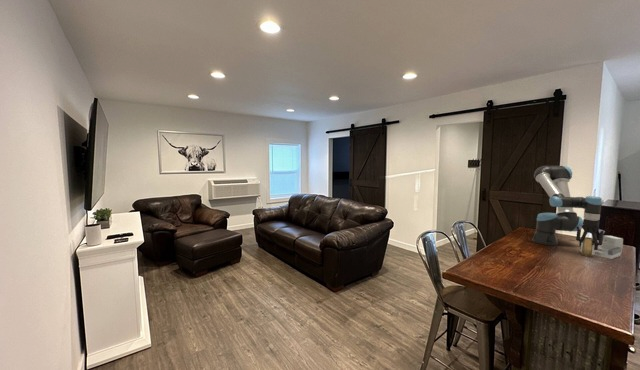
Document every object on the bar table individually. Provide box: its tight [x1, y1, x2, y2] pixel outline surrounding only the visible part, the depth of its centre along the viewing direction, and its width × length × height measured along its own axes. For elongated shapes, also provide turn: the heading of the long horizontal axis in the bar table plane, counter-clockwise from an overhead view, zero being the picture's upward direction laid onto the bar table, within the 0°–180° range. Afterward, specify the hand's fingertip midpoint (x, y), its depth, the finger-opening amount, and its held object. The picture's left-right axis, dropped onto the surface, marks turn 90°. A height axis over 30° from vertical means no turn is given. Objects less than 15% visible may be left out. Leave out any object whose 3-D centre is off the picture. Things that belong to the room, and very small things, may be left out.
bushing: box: [581, 236, 594, 258], centre depth 176 cm, size 5×5×12 cm
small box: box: [601, 235, 624, 254], centre depth 185 cm, size 8×6×10 cm
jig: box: [593, 246, 622, 260], centre depth 180 cm, size 15×15×6 cm
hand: (587, 252), depth 177 cm, fingers closed on bushing, 5 cm apart
